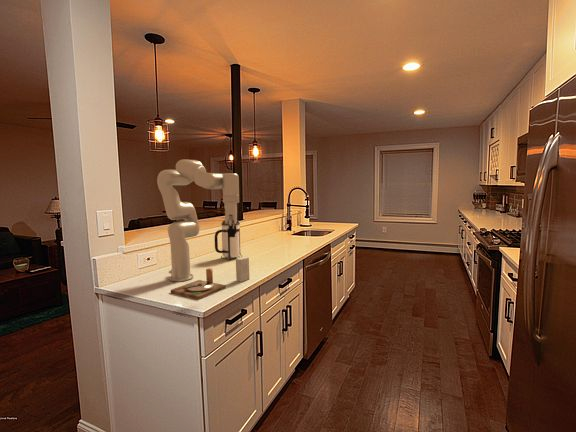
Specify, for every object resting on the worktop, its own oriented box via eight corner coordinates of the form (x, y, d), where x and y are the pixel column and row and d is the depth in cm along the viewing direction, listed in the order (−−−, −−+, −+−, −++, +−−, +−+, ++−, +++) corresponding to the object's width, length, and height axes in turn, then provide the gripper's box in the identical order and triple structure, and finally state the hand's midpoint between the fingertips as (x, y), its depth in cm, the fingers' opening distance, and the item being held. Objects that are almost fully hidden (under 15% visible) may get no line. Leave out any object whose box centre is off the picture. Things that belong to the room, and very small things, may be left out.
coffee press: (223, 255, 231) (222, 214, 228) (244, 255, 228) (243, 214, 225) (215, 261, 213) (213, 217, 211) (237, 261, 211) (236, 217, 208)
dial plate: (170, 292, 150) (170, 289, 150) (198, 282, 166) (198, 279, 166) (199, 299, 141) (198, 296, 141) (226, 288, 156) (226, 284, 156)
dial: (206, 281, 162) (206, 266, 161) (218, 287, 152) (218, 271, 151) (178, 287, 152) (177, 271, 151) (188, 294, 142) (187, 277, 141)
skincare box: (244, 277, 173) (243, 256, 172) (249, 279, 171) (249, 257, 170) (236, 280, 169) (235, 258, 168) (241, 281, 166) (240, 259, 165)
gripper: (225, 199, 157) (226, 233, 158) (221, 200, 139) (222, 238, 141) (240, 198, 157) (241, 232, 159) (238, 200, 140) (239, 238, 142)
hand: (232, 235), depth 150 cm, fingers open, 9 cm apart
